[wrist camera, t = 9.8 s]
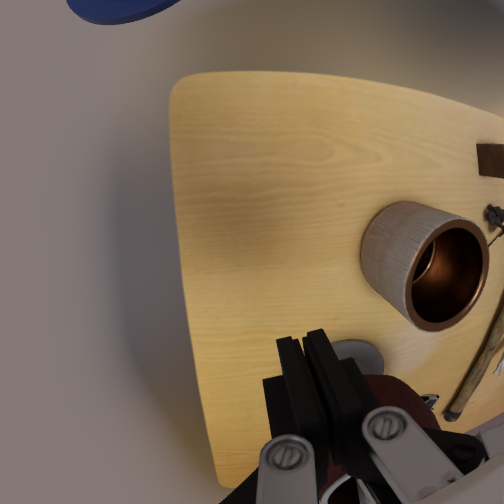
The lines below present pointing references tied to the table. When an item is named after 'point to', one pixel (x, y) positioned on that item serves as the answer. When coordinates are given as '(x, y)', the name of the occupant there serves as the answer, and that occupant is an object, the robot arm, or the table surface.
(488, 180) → the table surface
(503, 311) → the hammer
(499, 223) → the figurine
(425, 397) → the graphics card
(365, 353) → the mate gourd
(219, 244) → the table surface
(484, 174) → the block
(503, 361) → the white elongated piece
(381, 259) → the planter
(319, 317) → the table surface
